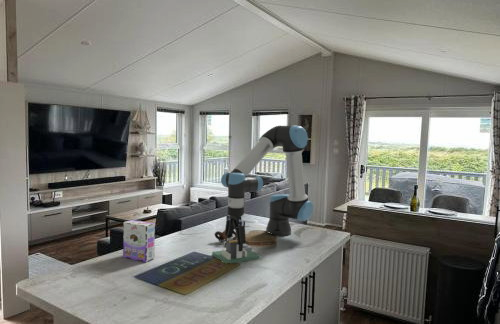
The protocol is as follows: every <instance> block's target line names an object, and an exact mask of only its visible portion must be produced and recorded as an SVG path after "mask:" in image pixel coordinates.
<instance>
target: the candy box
mask: <svg viewBox="0 0 500 324" xmlns="http://www.w3.org/2000/svg"><path fill="white" fill-rule="evenodd" d="M122 231H123V232H122V244H123V245H122V255H123V256H122V258H126V259H130V260H133V261H138V262H143V263H147V262H150V261H152V260H155V238H156V237H155V236H156V235H155V231H156V223H153V222H145V221H141V220H135V219H131V220H126V221H124V222H122Z"/></svg>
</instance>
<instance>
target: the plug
mask: <svg viewBox="0 0 500 324" xmlns="http://www.w3.org/2000/svg"><path fill="white" fill-rule="evenodd" d="M225 242H226V245H225V250H226V251H227V252H229V253H230V254H231V258H235V257H236V251H237V243H238V241H237V239H236V240H228V241H226V240H225Z"/></svg>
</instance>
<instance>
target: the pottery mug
mask: <svg viewBox="0 0 500 324" xmlns="http://www.w3.org/2000/svg"><path fill="white" fill-rule="evenodd" d="M214 238H216V239H217V240H218V241H219V242H222V241H224V240H225V242H224V245H225V246H226V241H227V237H226V235H225V229H224V230H223V231H220V230H219V231H216V232H215V233H214ZM232 238H233V240H236V239H237V236H236V230H234V231H233V237H232Z"/></svg>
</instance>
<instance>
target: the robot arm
mask: <svg viewBox="0 0 500 324" xmlns="http://www.w3.org/2000/svg"><path fill="white" fill-rule="evenodd" d="M308 140H309V136H308V133H307V131H306V129H305V128H304V127H302V126H301V125H276V126H274V127H271V128H270V129H268V130H267V131H266V132H264V133H263V134H262V135H261V136H260V138H258V142H257V143H256V144H255V146H253V147H252V149H251V150H250V151H248V153H247V154H246V155H245V156H244V157H243V158H242V160H240V162H239V163H237V165H236V166H235V167H234V169H232V170H231V171H230V172H226V173H224V174H223V175H222V176H221V179H220V183H221V186H223V187H224V188H227V194H228V195H227V206H228V207H227V215H226V217H225V218H226V222H225V229H224V230H225V235H226V237H227V241H228V240H233V237H234V234H233V231H235V232H236V236H237V241H238V243H237V251H236V258H242V251H243V244H246V243H247V238H246V227H245V226H246V221H244V220H242V217H243V216H244V215H245V207H244V206H245V193H252V192H253V193H255V192H260V191H261V190H262V189H263V186H264V180H263V178H262V177H261V176H259V175H249V174H251V172H252V171H253V170H254V169H255V168H256V166H257V165H258V164H259V163H260V162H261V161H262V160H263V158H264V157H265V156H266V155H267V154H268V153H269V152H271V151H273V150H274V149H275V148H277V147H280V148H281V147H282V153H284V154H285V157H286V158H285V159H286V167H287V168H286V169H287V179H288V191H289V193H286V194H285V193H281V194H273V195H271V196H270V199H269V218H268V222H267V225H266V228H265V232H266V231H267V232H270V233H272V234H274V235H273V236H275V235H276V236H278V237H285V236H290V235H291V234H292V228H291V223H290V219H292V220H297V221H303V222H306V221H307V220H309V219H310V218H311V216H312V214H313V211H314V203H313V202H312V201H310V200H309V195H307V194H306V190H305V179H304V176H305V175H304V167H303V165H304V163H303V155H302V153H303V152H304V150H305V147H306V146H307V145H308Z"/></svg>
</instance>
